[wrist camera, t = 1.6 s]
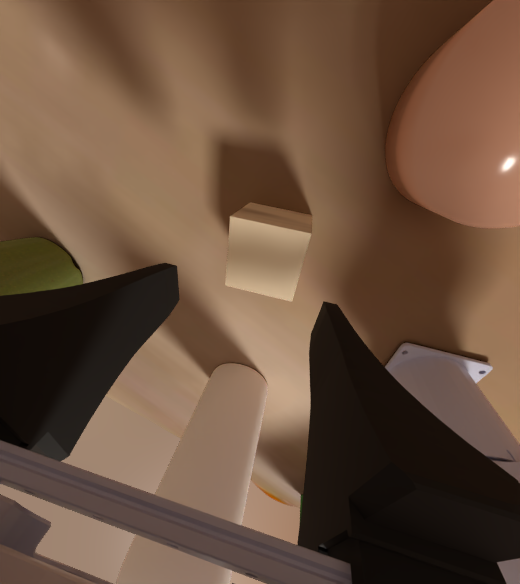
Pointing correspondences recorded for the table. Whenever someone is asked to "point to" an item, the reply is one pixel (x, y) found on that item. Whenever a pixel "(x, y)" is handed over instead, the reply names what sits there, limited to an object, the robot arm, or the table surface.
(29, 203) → the table surface
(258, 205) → the maple cube
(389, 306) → the table surface
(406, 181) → the salmon pink cylinder
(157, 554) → the bottle
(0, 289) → the plant pot
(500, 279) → the table surface
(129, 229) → the table surface
